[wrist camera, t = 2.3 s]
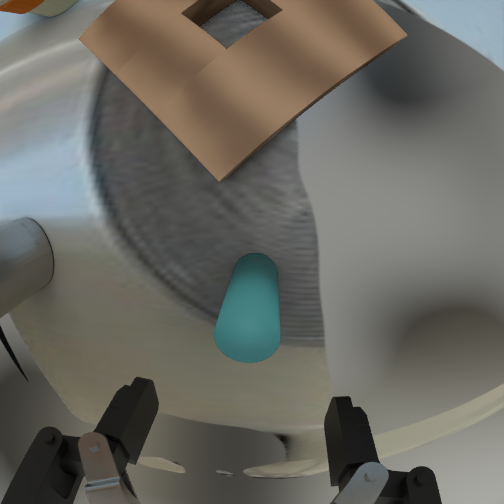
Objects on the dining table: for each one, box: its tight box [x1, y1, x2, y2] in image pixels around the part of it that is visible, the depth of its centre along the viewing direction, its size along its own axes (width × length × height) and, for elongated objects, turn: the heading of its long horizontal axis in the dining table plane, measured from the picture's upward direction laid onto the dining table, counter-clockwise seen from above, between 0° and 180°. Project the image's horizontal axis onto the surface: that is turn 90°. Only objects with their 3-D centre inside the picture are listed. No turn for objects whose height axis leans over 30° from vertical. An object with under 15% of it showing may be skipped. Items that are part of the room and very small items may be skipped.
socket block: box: [79, 0, 407, 181], centre depth 17 cm, size 20×20×4 cm
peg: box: [214, 253, 280, 363], centre depth 21 cm, size 4×4×10 cm
